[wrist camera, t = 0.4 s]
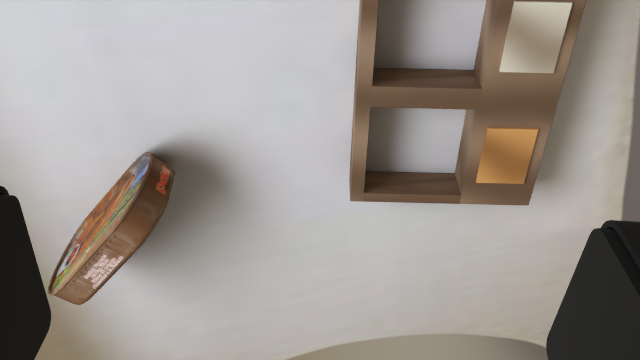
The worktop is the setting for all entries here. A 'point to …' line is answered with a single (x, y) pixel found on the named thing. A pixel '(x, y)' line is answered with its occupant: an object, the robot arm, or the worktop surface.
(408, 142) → the worktop surface
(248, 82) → the worktop surface
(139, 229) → the tin
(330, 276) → the worktop surface
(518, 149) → the socket block
